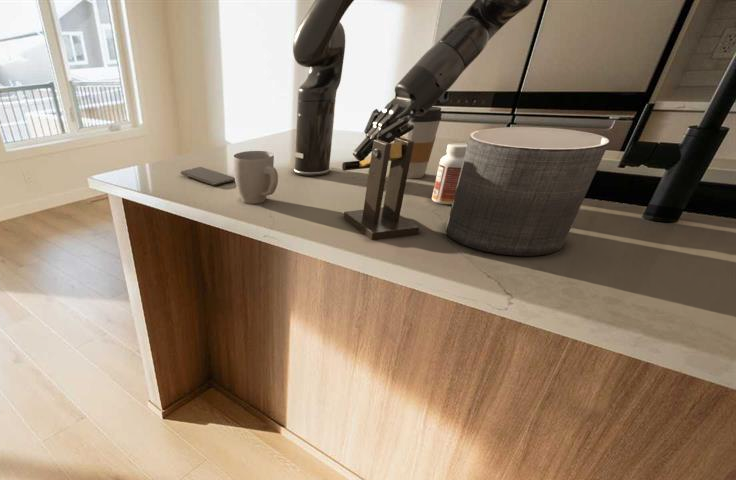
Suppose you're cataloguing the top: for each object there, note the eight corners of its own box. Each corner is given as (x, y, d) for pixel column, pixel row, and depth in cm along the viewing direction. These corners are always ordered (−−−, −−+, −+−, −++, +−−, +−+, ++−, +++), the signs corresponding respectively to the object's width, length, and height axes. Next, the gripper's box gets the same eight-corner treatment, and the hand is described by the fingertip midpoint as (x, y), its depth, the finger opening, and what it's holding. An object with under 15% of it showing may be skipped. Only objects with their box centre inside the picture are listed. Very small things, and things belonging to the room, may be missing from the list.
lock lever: (342, 173, 84) (341, 160, 84) (375, 170, 85) (374, 157, 85) (376, 159, 71) (376, 144, 70) (415, 156, 72) (414, 140, 71)
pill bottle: (469, 201, 89) (485, 144, 83) (451, 207, 86) (467, 149, 80) (442, 194, 93) (455, 140, 87) (424, 200, 91) (437, 144, 84)
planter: (423, 226, 78) (445, 133, 69) (502, 213, 82) (532, 123, 73) (499, 264, 64) (539, 154, 55) (590, 247, 68) (642, 140, 59)
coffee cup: (433, 178, 104) (449, 109, 95) (399, 180, 104) (412, 111, 95) (421, 170, 110) (435, 105, 102) (389, 171, 111) (400, 107, 102)
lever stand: (343, 218, 84) (352, 137, 76) (385, 213, 85) (399, 132, 77) (371, 239, 75) (385, 149, 66) (418, 234, 76) (438, 144, 67)
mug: (226, 199, 98) (224, 155, 92) (256, 192, 102) (256, 148, 96) (260, 212, 90) (260, 164, 84) (290, 203, 94) (292, 156, 88)
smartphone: (213, 183, 106) (179, 171, 117) (213, 187, 107) (179, 175, 117) (236, 177, 110) (201, 166, 120) (236, 181, 111) (201, 170, 121)
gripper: (399, 62, 81) (331, 138, 86) (440, 64, 70) (360, 150, 75) (418, 92, 84) (353, 163, 90) (461, 98, 74) (383, 178, 79)
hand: (356, 157), depth 83 cm, fingers closed
